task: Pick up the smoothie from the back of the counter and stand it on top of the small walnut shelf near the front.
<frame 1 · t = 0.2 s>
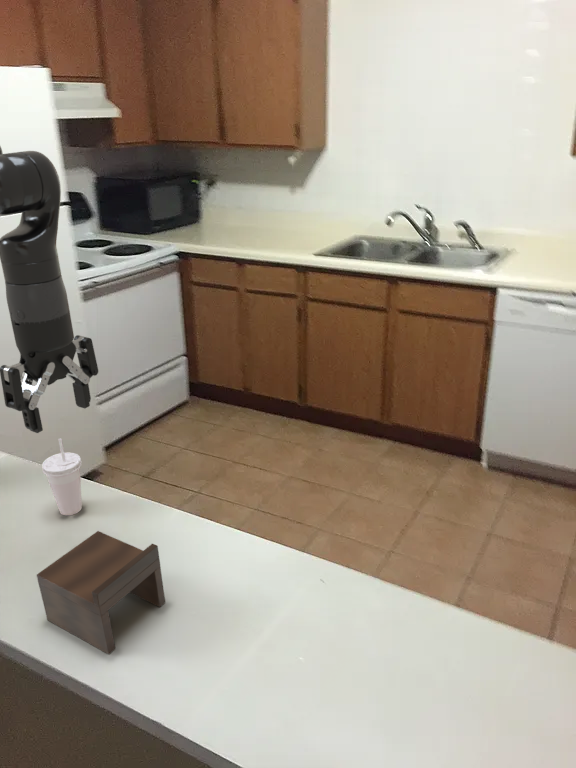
hand: (60, 418, 96), 24 cm above the countertop, tool pointing down, fingers open, 8 cm apart
shelf: (107, 611, 94), on the countertop
smoothie: (70, 510, 117), on the countertop
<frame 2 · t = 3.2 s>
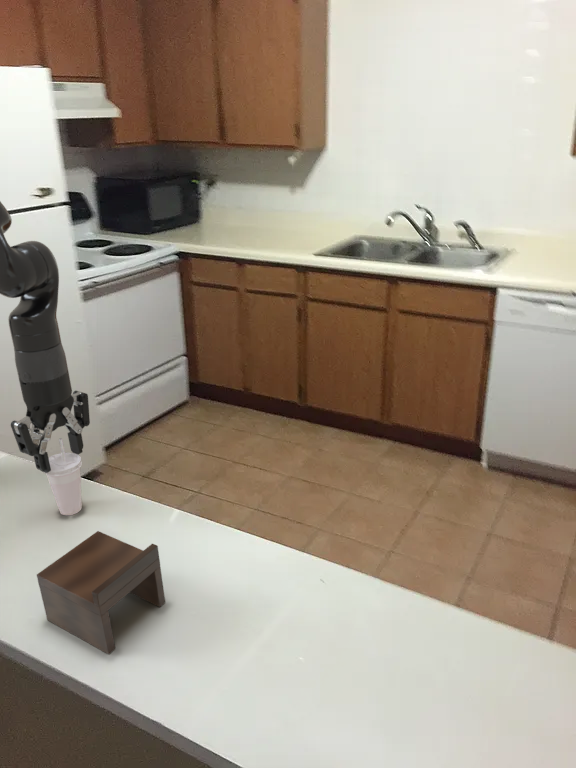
hand: (61, 461, 113), 10 cm above the countertop, tool pointing down, fingers closed on smoothie, 6 cm apart
smoothie: (70, 510, 117), on the countertop, touching gripper
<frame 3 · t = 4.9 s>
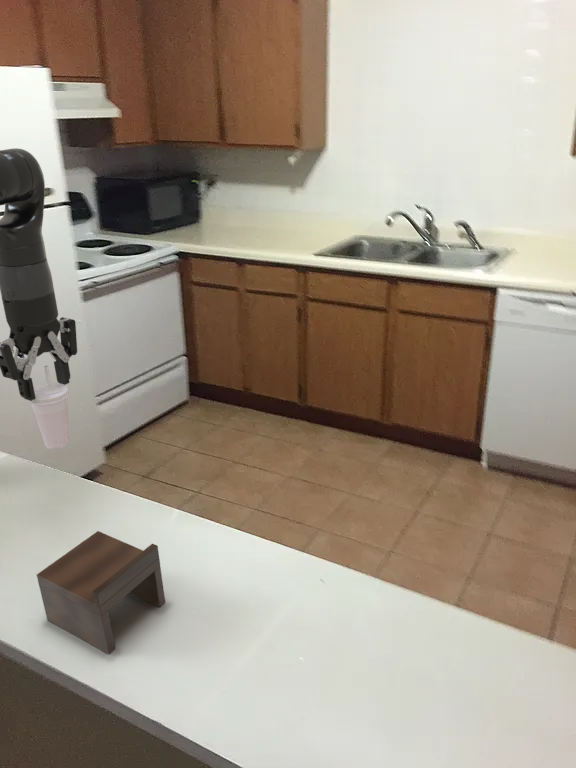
hand: (46, 390, 107), 23 cm above the countertop, tool pointing down, fingers closed on smoothie, 6 cm apart
smoothie: (57, 444, 111), point 13 cm above the countertop, touching gripper
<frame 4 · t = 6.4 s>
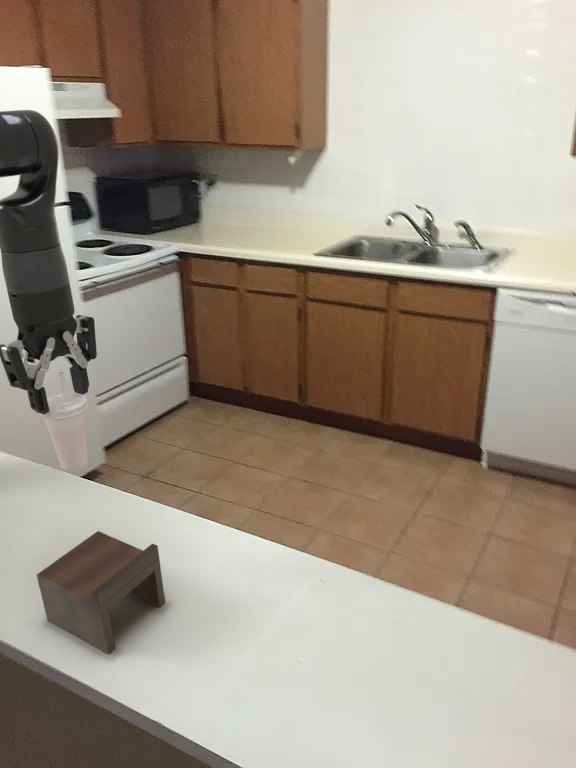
hand: (62, 401, 91), 28 cm above the countertop, tool pointing down, fingers closed on smoothie, 6 cm apart
smoothie: (74, 464, 95), point 18 cm above the countertop, touching gripper
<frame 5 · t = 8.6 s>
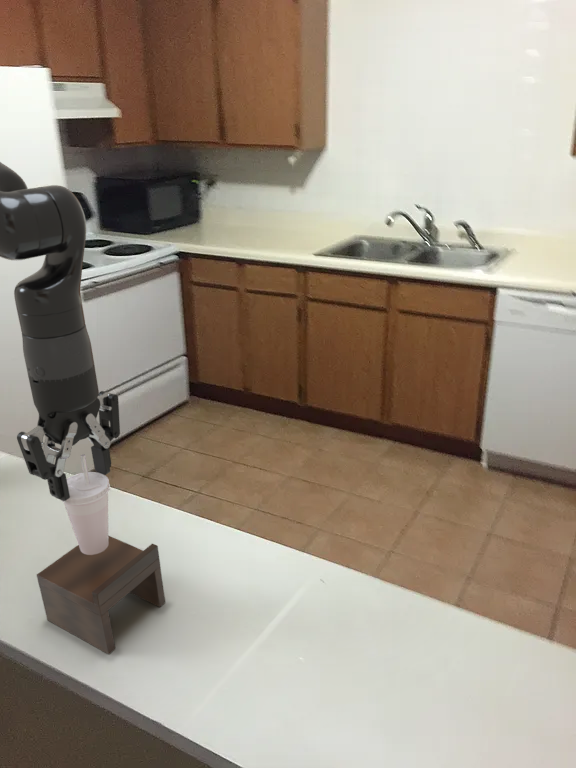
hand: (82, 484, 85), 21 cm above the countertop, tool pointing down, fingers closed on smoothie, 6 cm apart
smoothie: (94, 547, 89), point 11 cm above the countertop, touching gripper
when the fingers open (18 cm above the countertop, at t = 10.0 s): smoothie stays where it is, resting on shelf.
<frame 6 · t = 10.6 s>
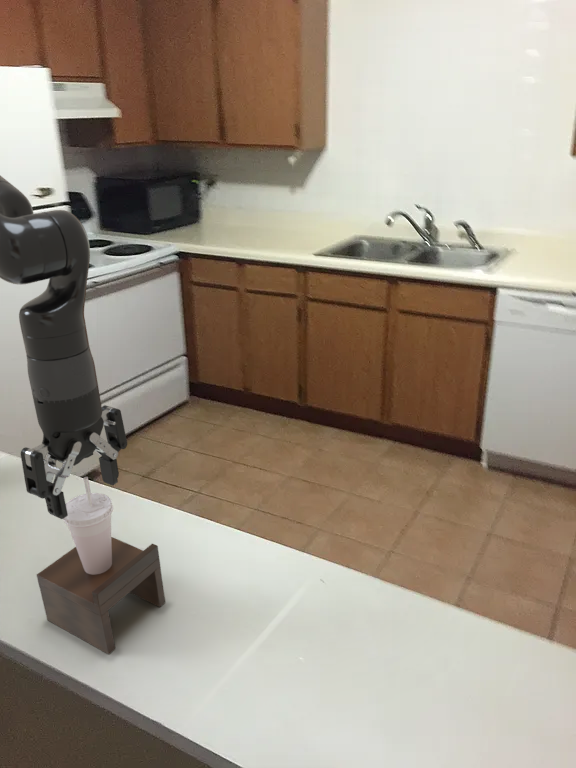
hand: (86, 498, 86), 19 cm above the countertop, tool pointing down, fingers open, 8 cm apart
smoothie: (98, 566, 91), point 8 cm above the countertop, touching shelf
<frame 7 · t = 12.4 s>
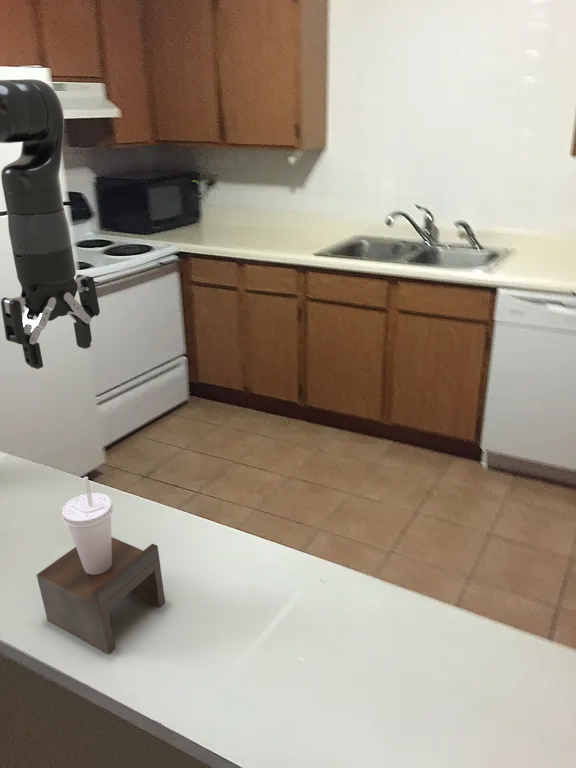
hand: (60, 356, 96), 32 cm above the countertop, tool pointing down, fingers open, 8 cm apart
nothing on the countertop moved.
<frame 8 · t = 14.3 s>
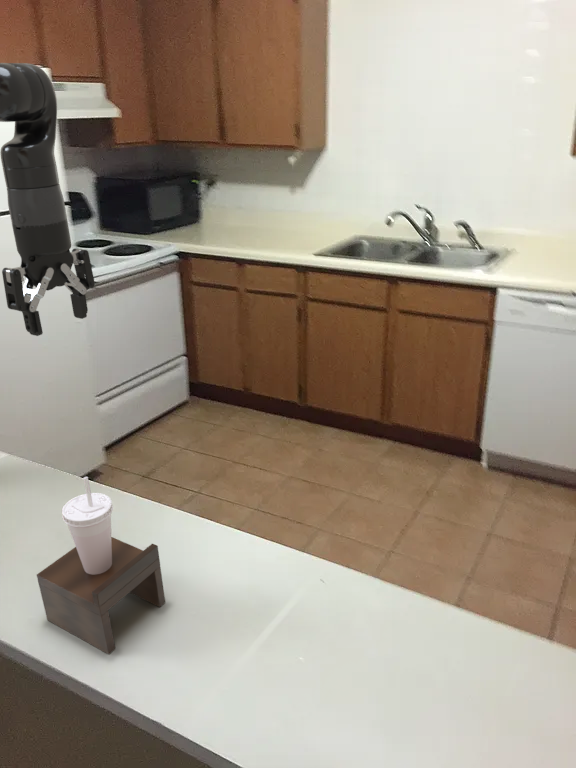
hand: (59, 325, 102), 34 cm above the countertop, tool pointing down, fingers open, 8 cm apart
nothing on the countertop moved.
at the end: smoothie inside the target area on the shelf (0.1 cm from its centre), point 7.8 cm above the shelf's base; smoothie tilted 0°; the gripper is holding nothing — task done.
